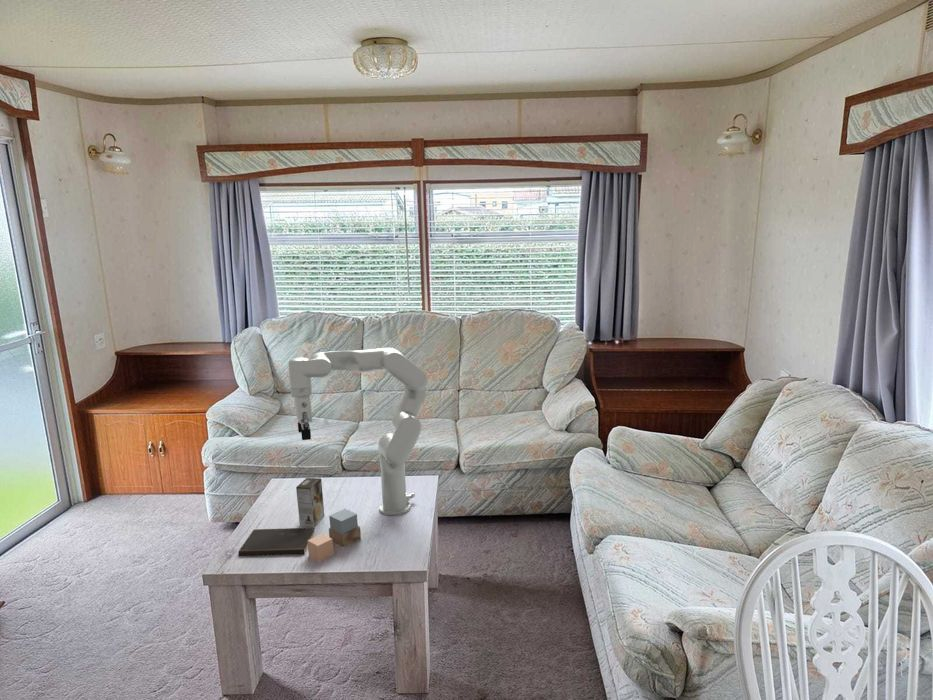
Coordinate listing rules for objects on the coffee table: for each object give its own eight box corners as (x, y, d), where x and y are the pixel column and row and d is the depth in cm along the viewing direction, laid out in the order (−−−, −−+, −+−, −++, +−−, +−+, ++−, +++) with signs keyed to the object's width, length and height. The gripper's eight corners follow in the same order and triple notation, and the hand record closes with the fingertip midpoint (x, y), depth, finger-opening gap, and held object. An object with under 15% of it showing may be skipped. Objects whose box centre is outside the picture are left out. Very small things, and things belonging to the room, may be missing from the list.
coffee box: (309, 514, 237) (306, 477, 234) (324, 516, 236) (321, 478, 232) (299, 525, 228) (295, 486, 225) (314, 527, 227) (311, 487, 224)
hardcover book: (254, 535, 223) (253, 529, 223) (315, 533, 223) (315, 527, 223) (238, 557, 208) (237, 551, 207) (304, 555, 208) (303, 549, 207)
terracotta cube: (323, 549, 211) (321, 533, 210) (333, 554, 207) (332, 538, 206) (308, 556, 206) (307, 540, 205) (319, 562, 203) (317, 546, 201)
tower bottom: (347, 532, 222) (346, 520, 221) (361, 539, 217) (360, 526, 216) (329, 541, 217) (328, 528, 216) (343, 548, 211) (342, 535, 210)
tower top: (345, 521, 221) (344, 508, 220) (357, 526, 216) (356, 514, 215) (330, 528, 216) (329, 515, 215) (342, 534, 211) (341, 521, 210)
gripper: (315, 395, 212) (318, 441, 216) (308, 384, 228) (311, 427, 231) (293, 398, 209) (297, 444, 213) (288, 387, 225) (291, 430, 228)
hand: (304, 435), depth 222 cm, fingers open, 9 cm apart
